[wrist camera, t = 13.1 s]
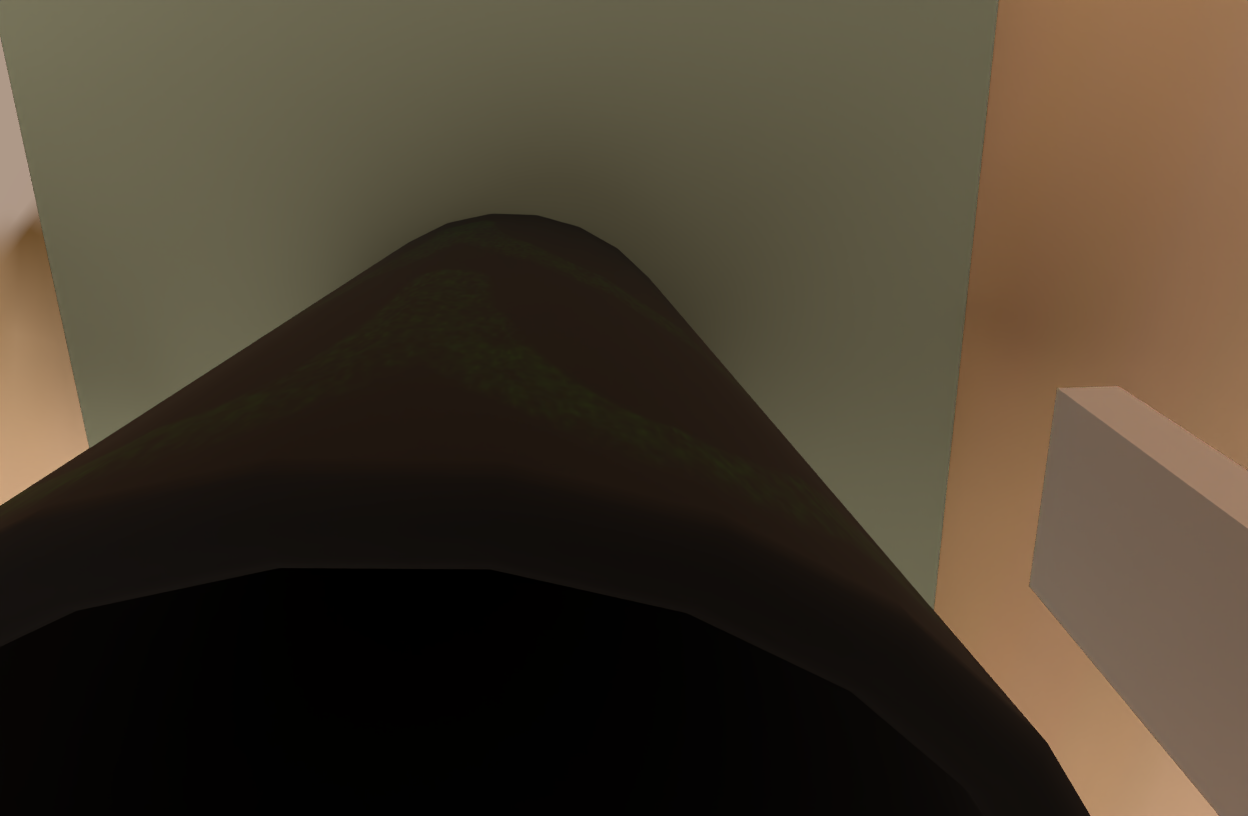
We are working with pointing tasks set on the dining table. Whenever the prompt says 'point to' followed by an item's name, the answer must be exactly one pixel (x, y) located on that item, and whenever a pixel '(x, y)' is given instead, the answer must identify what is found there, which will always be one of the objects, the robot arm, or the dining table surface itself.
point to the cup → (480, 580)
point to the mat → (532, 187)
